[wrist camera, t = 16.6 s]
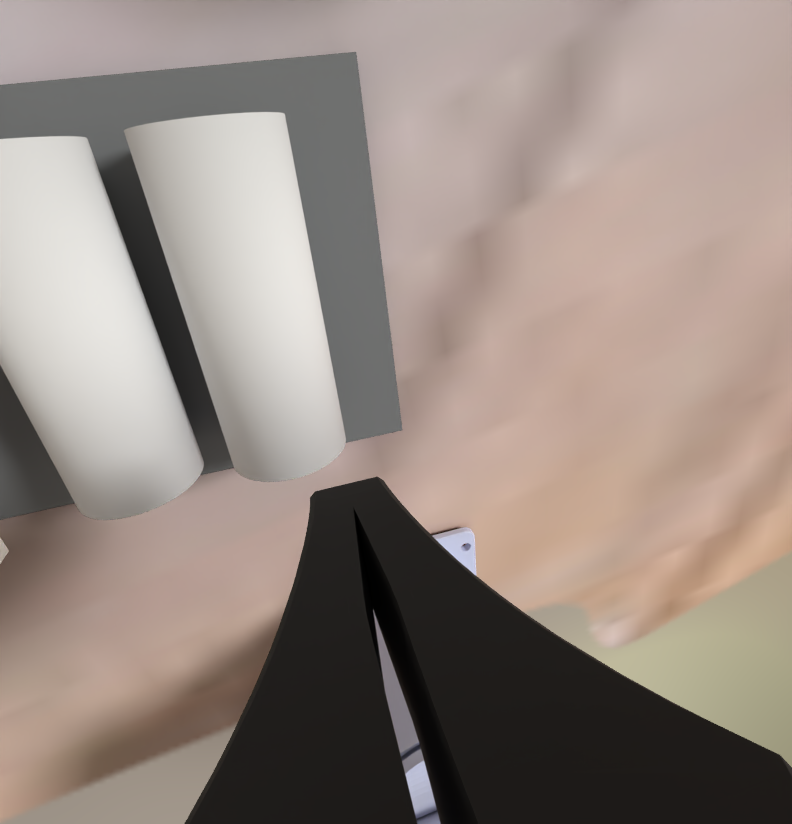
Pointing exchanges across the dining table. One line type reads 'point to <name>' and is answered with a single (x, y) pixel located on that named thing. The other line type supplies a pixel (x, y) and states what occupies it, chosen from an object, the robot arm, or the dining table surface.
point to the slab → (3, 550)
